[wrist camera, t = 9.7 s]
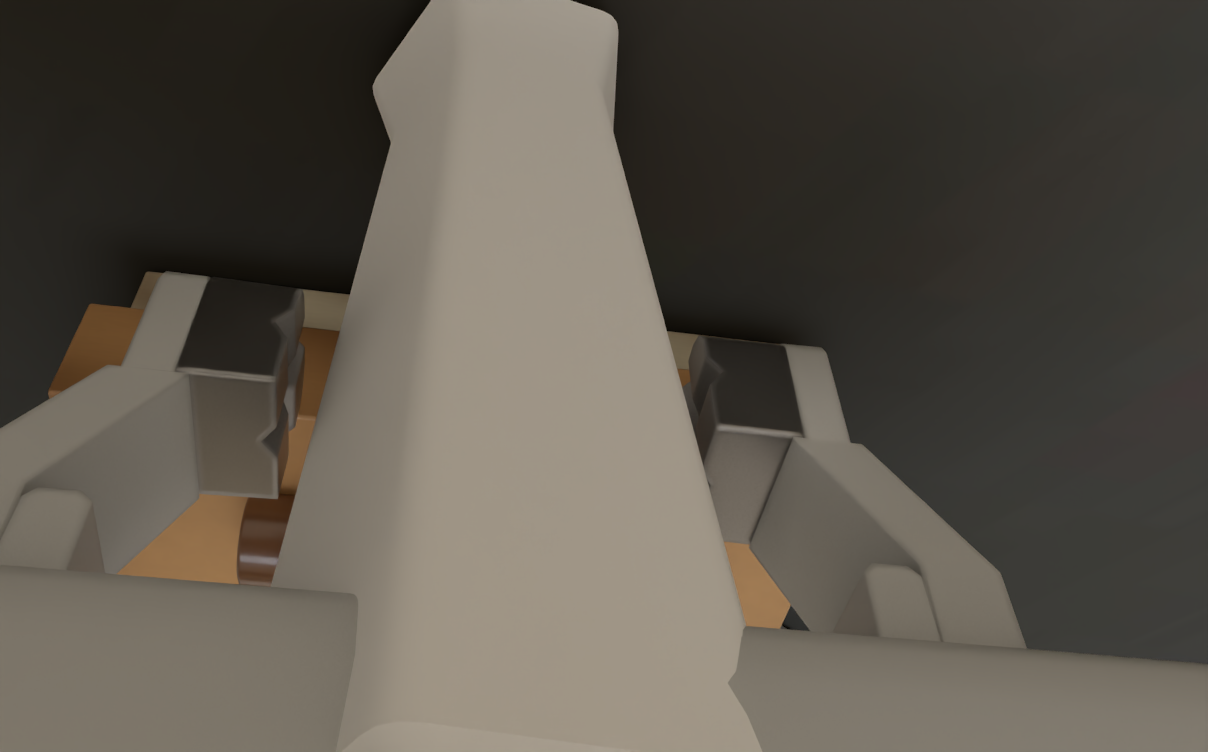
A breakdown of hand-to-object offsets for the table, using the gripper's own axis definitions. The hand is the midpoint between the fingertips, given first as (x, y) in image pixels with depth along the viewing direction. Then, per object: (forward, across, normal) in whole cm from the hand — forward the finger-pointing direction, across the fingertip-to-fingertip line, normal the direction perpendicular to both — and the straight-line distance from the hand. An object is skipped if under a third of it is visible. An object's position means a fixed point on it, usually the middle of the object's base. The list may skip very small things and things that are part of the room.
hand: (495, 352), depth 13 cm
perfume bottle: (+6, 0, 0) cm, 6 cm away
